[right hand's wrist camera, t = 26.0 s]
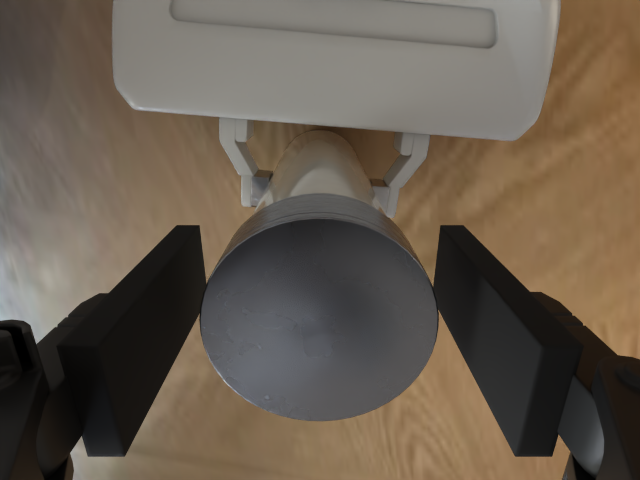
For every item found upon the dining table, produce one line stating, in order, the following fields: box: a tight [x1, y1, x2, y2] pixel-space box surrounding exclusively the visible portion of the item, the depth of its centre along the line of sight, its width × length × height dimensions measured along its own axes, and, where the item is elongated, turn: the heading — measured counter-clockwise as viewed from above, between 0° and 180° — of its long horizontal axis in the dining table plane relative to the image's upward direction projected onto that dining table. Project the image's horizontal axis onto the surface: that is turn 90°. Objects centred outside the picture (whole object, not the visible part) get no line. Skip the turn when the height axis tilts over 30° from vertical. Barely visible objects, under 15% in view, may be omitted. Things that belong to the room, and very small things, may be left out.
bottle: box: [252, 130, 387, 216], centre depth 19 cm, size 6×6×19 cm
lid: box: [200, 193, 439, 421], centre depth 11 cm, size 6×6×2 cm
